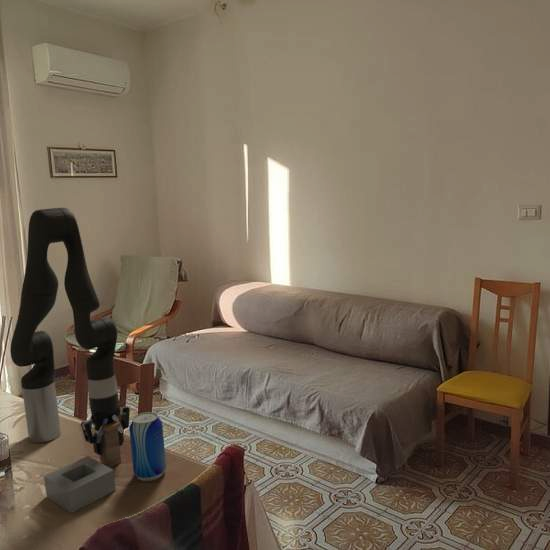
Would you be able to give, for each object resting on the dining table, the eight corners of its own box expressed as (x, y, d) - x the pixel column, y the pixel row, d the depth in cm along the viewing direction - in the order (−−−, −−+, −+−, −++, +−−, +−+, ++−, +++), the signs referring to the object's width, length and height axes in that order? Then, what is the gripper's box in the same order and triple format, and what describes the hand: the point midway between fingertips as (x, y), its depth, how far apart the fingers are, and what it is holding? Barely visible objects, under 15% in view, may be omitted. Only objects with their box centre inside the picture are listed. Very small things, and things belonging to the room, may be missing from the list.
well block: (46, 496, 134) (43, 475, 133) (90, 475, 143) (87, 456, 142) (71, 513, 126) (68, 492, 125) (115, 490, 135) (113, 469, 134)
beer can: (158, 483, 137) (153, 425, 134) (128, 481, 138) (122, 423, 136) (171, 466, 145) (166, 411, 142) (142, 464, 146) (137, 409, 144)
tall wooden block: (97, 462, 149) (93, 422, 147) (110, 456, 152) (105, 416, 150) (111, 470, 145) (107, 428, 143) (124, 463, 148) (120, 423, 146)
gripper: (118, 381, 153) (124, 436, 155) (71, 397, 142) (78, 456, 145) (133, 386, 148) (139, 443, 151) (86, 404, 137) (93, 464, 140)
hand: (109, 449), depth 148 cm, fingers open, 5 cm apart
